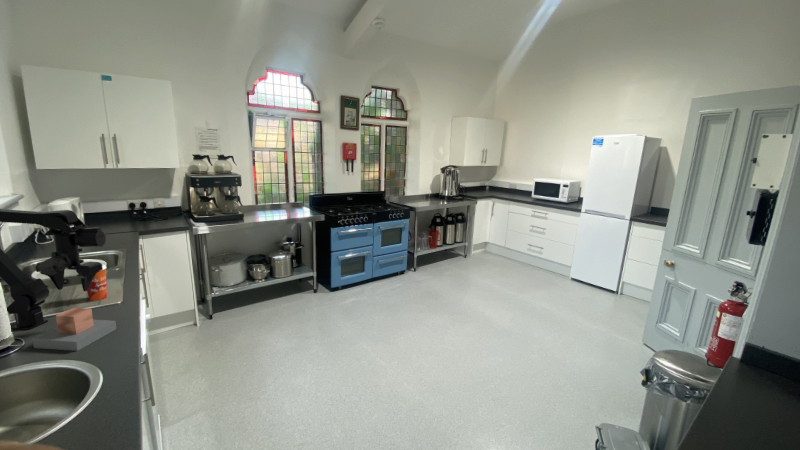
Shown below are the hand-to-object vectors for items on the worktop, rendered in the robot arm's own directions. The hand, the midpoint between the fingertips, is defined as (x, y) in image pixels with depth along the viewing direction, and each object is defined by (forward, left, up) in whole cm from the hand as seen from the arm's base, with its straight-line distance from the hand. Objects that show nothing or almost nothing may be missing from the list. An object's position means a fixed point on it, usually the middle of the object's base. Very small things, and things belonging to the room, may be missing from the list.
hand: (73, 290), depth 121 cm
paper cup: (-11, +20, -12) cm, 26 cm away
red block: (+10, -10, -9) cm, 17 cm away
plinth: (+10, -10, -12) cm, 19 cm away
